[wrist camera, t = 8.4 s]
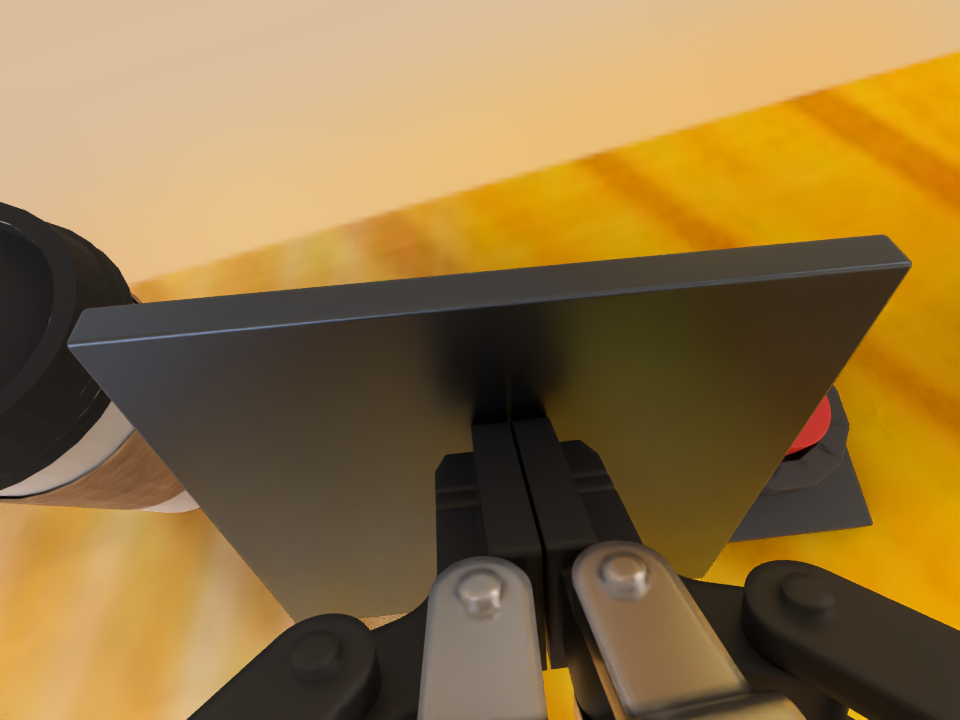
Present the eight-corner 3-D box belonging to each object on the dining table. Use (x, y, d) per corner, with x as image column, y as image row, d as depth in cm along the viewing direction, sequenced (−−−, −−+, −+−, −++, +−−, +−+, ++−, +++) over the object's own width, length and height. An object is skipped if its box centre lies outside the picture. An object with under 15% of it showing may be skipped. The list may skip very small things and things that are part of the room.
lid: (81, 306, 9) (62, 345, 8) (886, 231, 9) (917, 263, 9) (300, 600, 18) (297, 626, 18) (695, 553, 19) (704, 578, 18)
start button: (795, 375, 27) (816, 361, 25) (820, 452, 26) (844, 442, 24) (719, 383, 27) (735, 369, 25) (740, 461, 25) (758, 452, 24)
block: (791, 331, 31) (823, 305, 28) (858, 527, 27) (902, 520, 24) (642, 346, 30) (659, 321, 27) (688, 547, 27) (713, 542, 24)
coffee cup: (106, 379, 29) (-230, 187, 15) (275, 359, 30) (97, 156, 16) (85, 553, 26) (-358, 510, 12) (274, 529, 27) (53, 461, 13)
